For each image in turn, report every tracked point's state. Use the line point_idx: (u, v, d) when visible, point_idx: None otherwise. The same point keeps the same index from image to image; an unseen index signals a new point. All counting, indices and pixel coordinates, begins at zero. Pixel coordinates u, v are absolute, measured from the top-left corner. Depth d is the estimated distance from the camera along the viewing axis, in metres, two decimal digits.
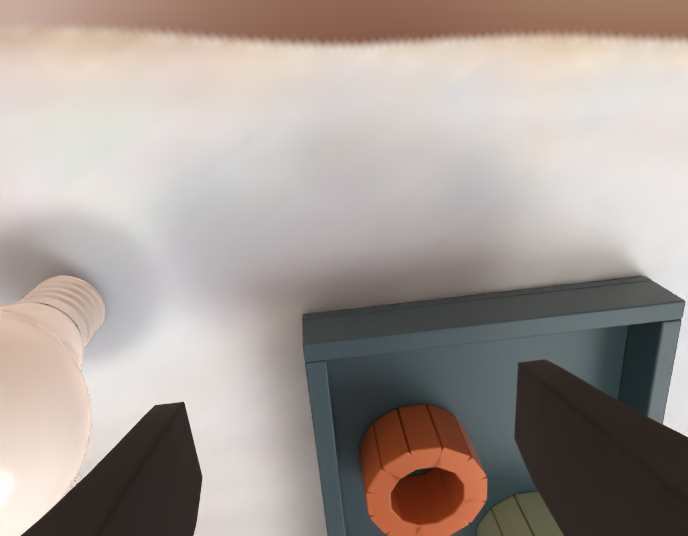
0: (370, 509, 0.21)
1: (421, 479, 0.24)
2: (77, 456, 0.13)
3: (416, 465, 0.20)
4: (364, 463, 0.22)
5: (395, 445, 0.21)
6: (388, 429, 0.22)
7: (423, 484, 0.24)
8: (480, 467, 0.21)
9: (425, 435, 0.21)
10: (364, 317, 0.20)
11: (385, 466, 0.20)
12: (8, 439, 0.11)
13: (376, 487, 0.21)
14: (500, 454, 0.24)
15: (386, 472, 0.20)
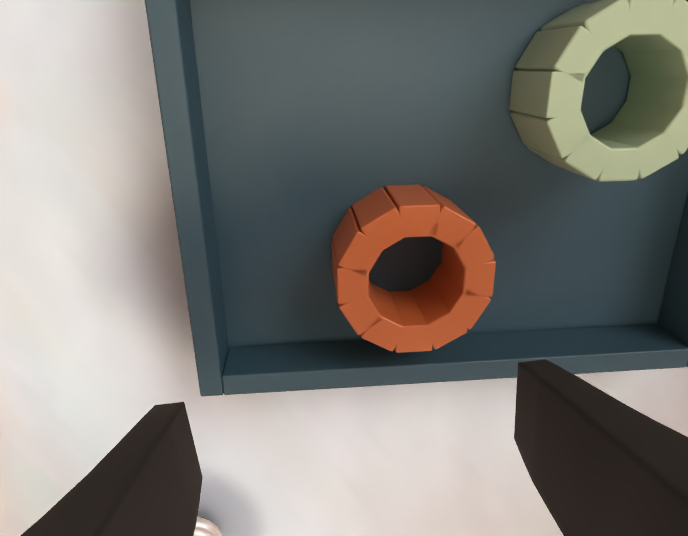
0: (421, 349, 0.17)
1: (443, 247, 0.18)
2: None
3: (361, 297, 0.16)
4: None
5: None
6: None
7: (446, 249, 0.18)
8: (381, 215, 0.15)
9: (335, 273, 0.17)
10: None
11: (357, 332, 0.17)
12: None
13: (388, 342, 0.17)
14: (431, 136, 0.17)
15: (367, 331, 0.17)
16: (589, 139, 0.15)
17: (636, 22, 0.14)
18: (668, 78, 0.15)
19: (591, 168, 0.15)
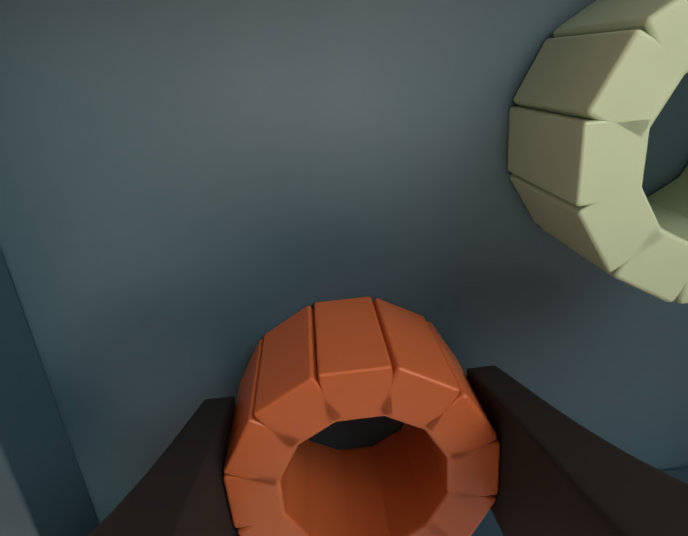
0: None
1: None
2: None
3: (273, 516, 0.09)
4: None
5: None
6: None
7: None
8: (288, 390, 0.09)
9: None
10: None
11: None
12: None
13: None
14: (380, 221, 0.10)
15: None
16: (659, 236, 0.08)
17: None
18: None
19: (664, 284, 0.08)
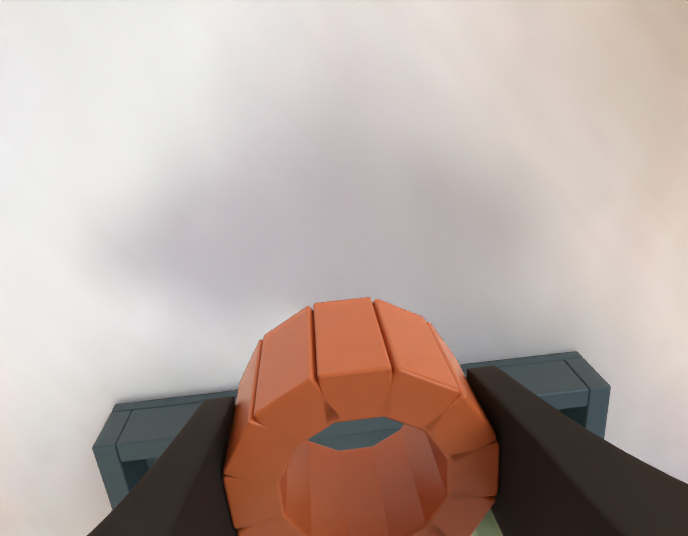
0: None
1: None
2: None
3: (272, 517, 0.09)
4: None
5: None
6: None
7: None
8: (288, 390, 0.09)
9: None
10: None
11: None
12: None
13: None
14: None
15: None
16: None
17: None
18: None
19: None
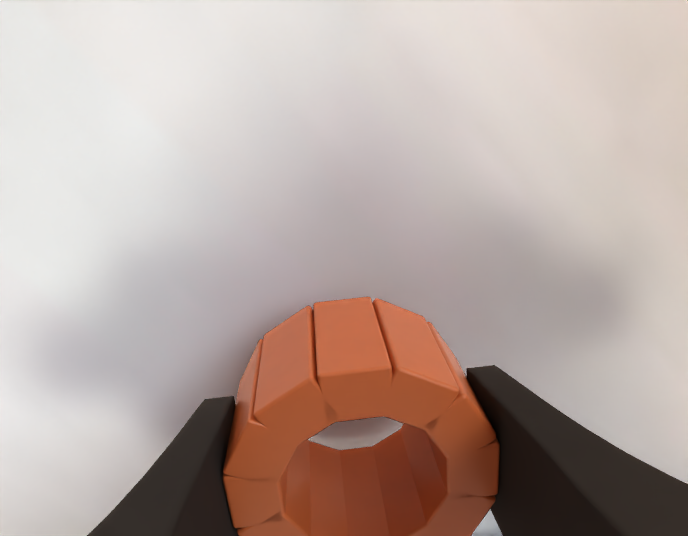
0: None
1: None
2: None
3: (272, 517, 0.09)
4: None
5: None
6: None
7: None
8: (288, 390, 0.09)
9: None
10: None
11: None
12: None
13: None
14: None
15: None
16: None
17: None
18: None
19: None
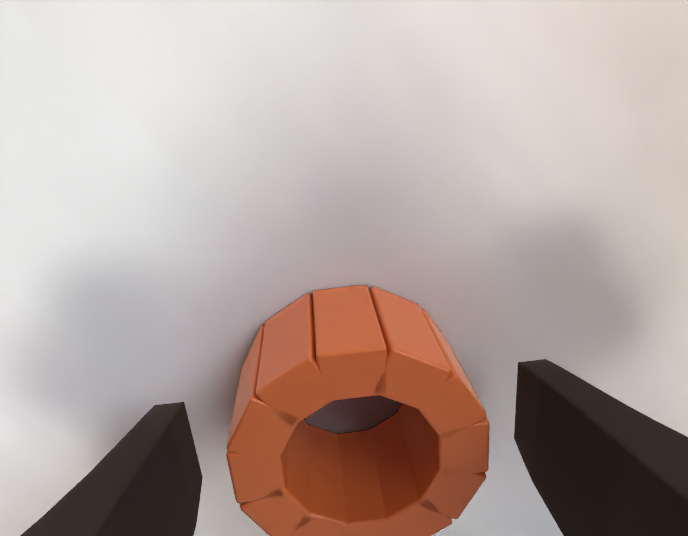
0: None
1: None
2: None
3: (273, 492, 0.10)
4: None
5: None
6: None
7: None
8: (288, 370, 0.09)
9: None
10: None
11: None
12: None
13: None
14: None
15: None
16: None
17: None
18: None
19: None
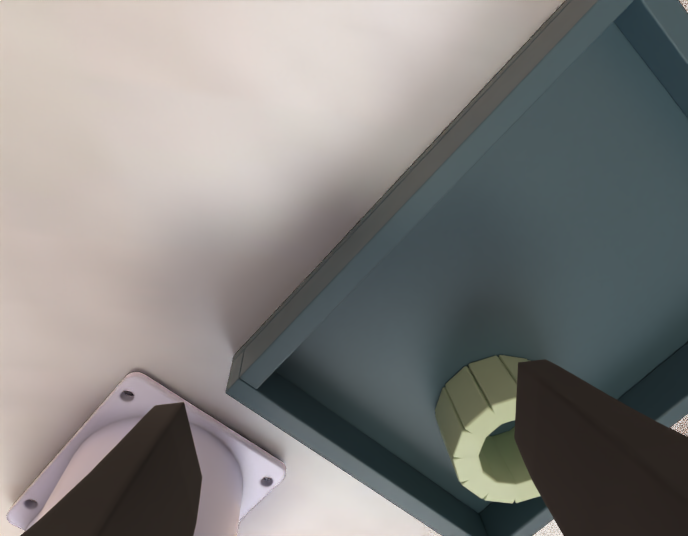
0: None
1: None
2: None
3: None
4: None
5: None
6: None
7: None
8: None
9: None
10: None
11: None
12: None
13: None
14: (565, 304, 0.20)
15: None
16: None
17: None
18: (488, 464, 0.21)
19: (502, 407, 0.18)
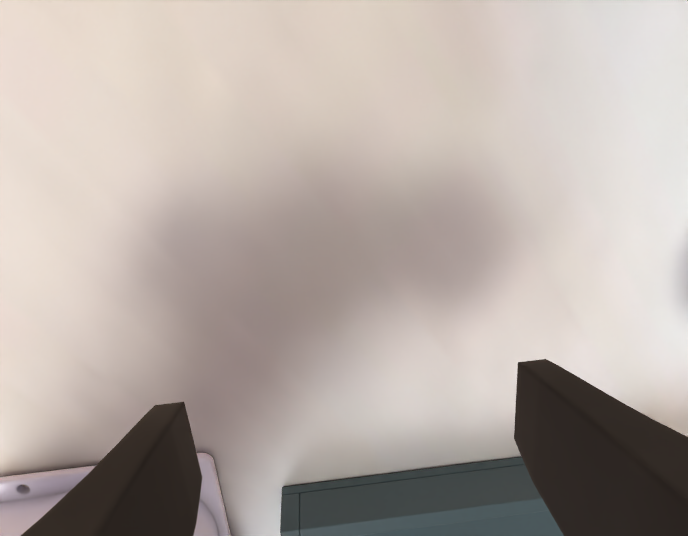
0: None
1: None
2: None
3: None
4: None
5: None
6: None
7: None
8: None
9: None
10: None
11: None
12: None
13: None
14: None
15: None
16: None
17: None
18: None
19: None
